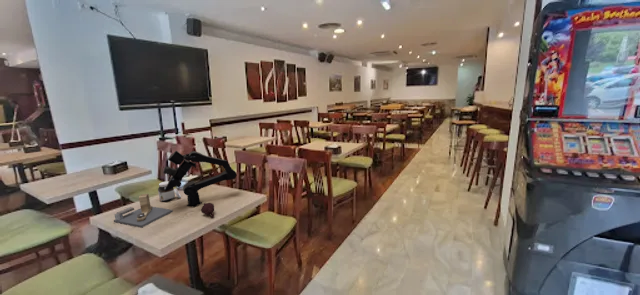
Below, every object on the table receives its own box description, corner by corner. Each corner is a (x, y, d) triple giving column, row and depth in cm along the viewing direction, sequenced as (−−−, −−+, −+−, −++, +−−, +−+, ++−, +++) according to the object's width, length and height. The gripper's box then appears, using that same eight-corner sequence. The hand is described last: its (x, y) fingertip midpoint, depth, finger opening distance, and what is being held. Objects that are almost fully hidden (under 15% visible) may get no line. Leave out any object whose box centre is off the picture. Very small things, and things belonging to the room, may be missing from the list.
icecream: (195, 201, 152) (202, 212, 141) (208, 195, 156) (216, 205, 145) (200, 211, 155) (207, 222, 144) (212, 205, 159) (220, 215, 148)
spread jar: (157, 200, 173) (154, 183, 171) (175, 194, 182) (172, 178, 180) (166, 204, 167) (163, 186, 164) (184, 197, 176) (181, 181, 173)
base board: (172, 211, 155) (172, 209, 155) (141, 227, 138) (141, 225, 137) (146, 207, 162) (146, 205, 162) (114, 222, 145) (113, 220, 145)
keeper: (144, 220, 143) (143, 214, 142) (110, 225, 138) (109, 219, 138) (152, 209, 156) (150, 204, 155) (121, 214, 152) (120, 208, 151)
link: (144, 220, 143) (141, 202, 140) (136, 221, 141) (132, 203, 139) (153, 208, 158) (150, 191, 155) (145, 209, 156) (142, 192, 154)
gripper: (170, 158, 161) (152, 179, 158) (171, 165, 146) (151, 188, 143) (186, 168, 167) (169, 188, 164) (189, 176, 151) (170, 198, 148)
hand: (165, 190), depth 155 cm, fingers closed
